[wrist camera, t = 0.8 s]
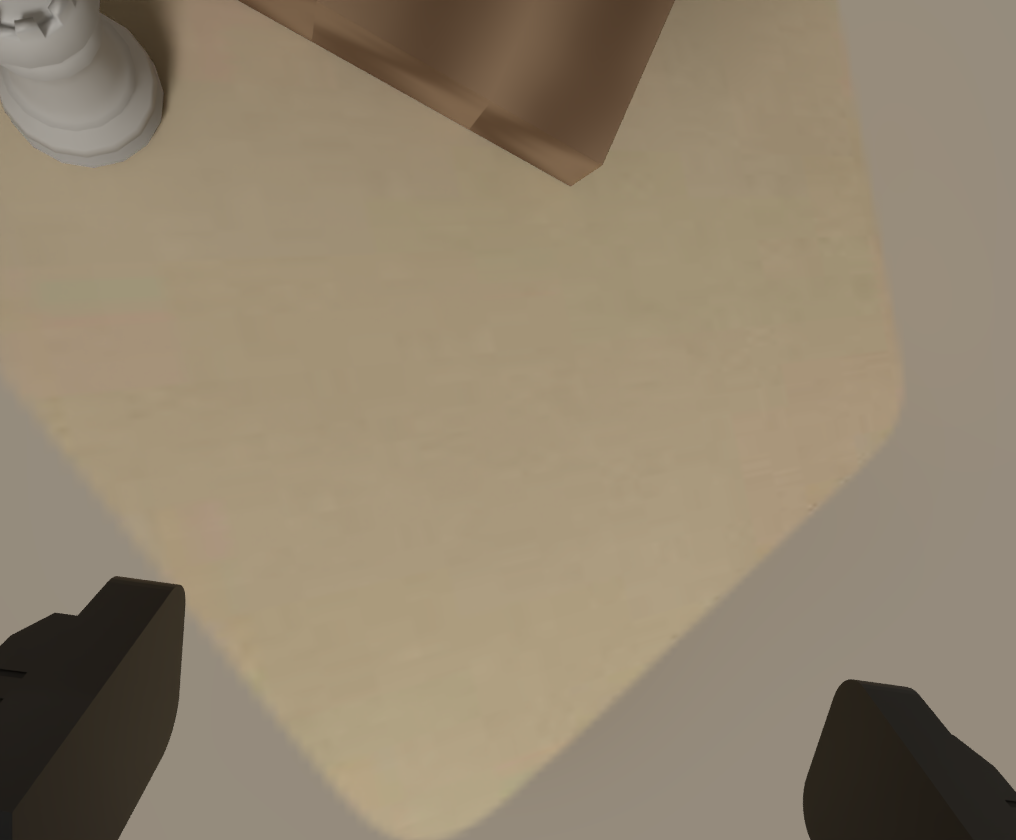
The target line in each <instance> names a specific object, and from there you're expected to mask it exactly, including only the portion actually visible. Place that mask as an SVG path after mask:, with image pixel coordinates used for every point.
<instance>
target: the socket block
mask: <svg viewBox="0 0 1016 840" xmlns="http://www.w3.org/2000/svg"><path fill="white" fill-rule="evenodd" d="M239 1H240V2H242V3H244V4H246V5H248V6H249V7H251V8H253V9H255V10H257V11H258V12H260V13H262V14H264V15H266V16H267V17H269V18H271V19H273V20H274V21H276V22H278V23H280V24H282V25H283V26H285V27H287V28H289V29H291V30H292V31H294V32H296V33H298V34H299V35H301V36H303V37H305V38H307V39H308V40H310V41H312V42H314V43H316V44H317V45H319V46H321V47H323V48H324V49H326V50H328V51H330V52H332V53H333V54H335V55H337V56H339V57H341V58H342V59H344V60H346V61H348V62H349V63H351V64H353V65H355V66H357V67H358V68H360V69H362V70H364V71H366V72H367V73H369V74H371V75H373V76H374V77H376V78H378V79H380V80H382V81H383V82H385V83H387V84H389V85H391V86H392V87H394V88H396V89H398V90H399V91H401V92H403V93H405V94H407V95H408V96H410V97H412V98H414V99H416V100H417V101H419V102H421V103H423V104H424V105H426V106H428V107H430V108H432V109H433V110H435V111H437V112H439V113H441V114H442V115H444V116H446V117H448V118H449V119H451V120H453V121H455V122H457V123H458V124H460V125H462V126H464V127H466V128H467V129H469V130H471V131H473V132H474V133H476V134H478V135H480V136H482V137H483V138H485V139H487V140H489V141H491V142H492V143H494V144H496V145H498V146H499V147H501V148H503V149H505V150H507V151H508V152H510V153H512V154H514V155H516V156H517V157H519V158H521V159H523V160H524V161H526V162H528V163H530V164H532V165H533V166H535V167H537V168H539V169H541V170H542V171H544V172H546V173H548V174H549V175H551V176H553V177H555V178H557V179H558V180H560V181H562V182H564V183H566V184H567V185H569V186H572V185H573V184H575V183H576V182H578V181H579V180H581V179H582V178H584V177H585V176H587V175H588V174H590V173H591V172H593V171H594V170H596V169H597V168H599V167H600V166H602V165H603V163H604V160H605V158H606V156H607V154H608V151H609V149H610V147H611V145H612V142H613V140H614V138H615V135H616V133H617V131H618V129H619V126H620V124H621V122H622V119H623V117H624V115H625V113H626V110H627V108H628V106H629V104H630V101H631V99H632V97H633V94H634V92H635V90H636V88H637V85H638V83H639V81H640V79H641V76H642V74H643V72H644V69H645V67H646V65H647V63H648V60H649V58H650V56H651V53H652V51H653V49H654V47H655V44H656V42H657V40H658V38H659V35H660V33H661V31H662V28H663V26H664V24H665V22H666V19H667V17H668V15H669V13H670V10H671V8H672V6H673V3H674V1H675V0H239Z"/></svg>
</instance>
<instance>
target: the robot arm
mask: <svg viewBox="0 0 1016 840" xmlns="http://www.w3.org/2000/svg"><path fill="white" fill-rule="evenodd" d="M184 617H185V592H184V588H183V587H182V586H181V585H177V584H170V583H163V582H156V581H148V580H141V579H134V578H127V577H118V576H116V577H113V578H111V579H110V580H109V581H108V582H107V583H106V585H105V586H104V587H103V588H102V589H101V590H100V591H99V592H98V594H97V595H96V596H95V597H94V598H93V599H92V600H91V601H90V602H89V604H88V605H87V606H86V607H85V608H84V609H83V610H82V611H81V613H80V614H79V615H78V616H75V615H68V614H60V613H54V614H52V615H50V616H48V617H46V618H44V619H42V620H40V621H38V622H36V623H34V624H32V625H30V626H28V627H27V628H24V629H23V630H21V631H19V632H17V633H15V634H13V635H11V636H10V637H9V638H8V639H7V640H6V641H5V642H4V643H3V644H2V645H1V646H0V840H118V839H119V836H120V835H121V833H122V831H123V829H124V827H125V825H126V824H127V821H128V820H129V818H130V815H131V814H132V812H133V811H134V809H135V807H136V805H137V803H138V801H139V799H140V797H141V796H142V794H143V792H144V790H145V788H146V786H147V784H148V782H149V781H150V779H151V777H152V775H153V773H154V771H155V770H156V768H157V766H158V764H159V762H160V760H161V758H162V756H163V754H164V752H165V750H166V747H167V745H168V742H169V739H170V736H171V733H172V730H173V726H174V722H175V718H176V713H177V708H178V701H179V690H180V675H181V661H182V645H183V631H184ZM803 811H804V820H805V824H806V828H807V832H808V834H809V837H810V839H811V840H1016V792H1015V791H1014V789H1013V788H1012V787H1011V786H1010V785H1009V783H1008V782H1007V781H1006V780H1005V779H1004V777H1003V776H1002V775H1001V774H1000V773H999V772H998V770H997V769H996V768H995V767H994V766H993V765H991V764H990V763H989V762H987V761H986V760H985V759H984V758H982V757H981V756H980V755H978V754H977V753H976V752H975V751H973V750H972V749H971V748H969V747H968V746H967V745H966V744H964V743H963V742H962V741H960V740H959V739H958V738H957V737H955V736H954V735H951V733H950V732H949V731H948V730H947V729H946V727H945V726H944V725H943V724H942V723H941V721H940V720H939V719H938V717H937V716H936V715H935V714H934V712H933V711H932V710H931V709H930V708H929V706H928V705H927V704H926V703H925V701H924V700H923V699H922V698H921V697H920V695H919V694H918V693H917V692H916V691H914V690H913V689H911V688H908V687H902V686H895V685H888V684H881V683H874V682H867V681H860V680H846V681H844V682H843V683H842V684H841V685H840V686H839V688H838V689H837V691H836V693H835V696H834V698H833V701H832V704H831V707H830V710H829V713H828V716H827V719H826V722H825V725H824V728H823V731H822V733H821V736H820V739H819V742H818V746H817V748H816V751H815V754H814V757H813V760H812V763H811V766H810V769H809V772H808V775H807V778H806V781H805V786H804V793H803Z"/></svg>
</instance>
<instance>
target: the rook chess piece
mask: <svg viewBox="0 0 1016 840" xmlns="http://www.w3.org/2000/svg"><path fill="white" fill-rule="evenodd" d="M99 8H100V0H0V99H1V102H2V105H3V108H4V111H5V113H6V114H7V115H8V116H9V117H10V119H11V122H12V123H13V124H14V125H15V127H16V128H17V129H18V130H19V131H20V132H21V133H22V135H23V136H24V137H25V138H26V139H27V140H28V142H29V143H30V144H31V145H32V146H33V147H34V148H36V149H38V150H40V151H42V152H43V153H45V154H47V155H49V156H51V157H53V158H54V159H56V160H58V161H60V162H62V163H67V164H73V165H80V166H86V167H92V168H95V167H100V166H104V165H109V164H114V163H118V162H123V161H125V160H126V159H128V158H129V157H131V156H132V155H133V154H135V153H136V152H138V151H139V150H141V149H142V148H143V147H145V146H146V145H147V144H148V143H149V141H150V139H151V137H152V136H153V134H154V132H155V130H156V129H157V127H158V125H159V124H160V122H161V117H162V106H163V95H164V92H163V89H162V86H161V83H160V79H159V76H158V73H157V70H156V67H155V64H154V63H153V62H152V60H151V59H150V58H149V55H148V53H147V52H146V51H145V49H144V48H143V47H142V46H141V45H140V43H139V42H138V41H137V40H136V38H135V37H134V36H133V35H132V33H131V32H130V31H129V30H128V29H127V28H125V27H123V26H122V25H120V24H118V23H117V22H115V21H113V20H112V19H110V18H108V17H107V16H105V15H104V14H102V13H100V12H99Z"/></svg>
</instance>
